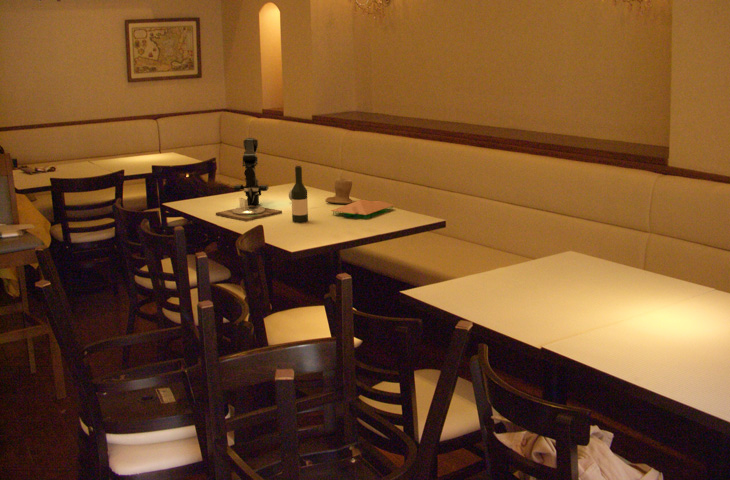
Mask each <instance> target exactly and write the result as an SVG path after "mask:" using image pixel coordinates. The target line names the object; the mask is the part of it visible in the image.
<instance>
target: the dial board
mask: <svg viewBox="0 0 730 480" xmlns="http://www.w3.org/2000/svg"><path fill="white" fill-rule="evenodd" d="M250 206H252V205H250ZM250 206H248V207H250ZM255 207H259V206H255ZM264 208H265V212H263V213H259V214H252V215H239V214H234V213H233V212H232V210H233V209H234V208H232V209H227V210H223V211H217V212H215V216H217V217H222V218H226V219H227V218H228V219H233V220H236V221H237V220H238V221H242V222H249V221H255V220H259V219H264V218H268V217H273V216H277V215H281V214H283V211H282V210H279V209H273V208H269V207H264Z"/></svg>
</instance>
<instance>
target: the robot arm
mask: <svg viewBox="0 0 730 480" xmlns="http://www.w3.org/2000/svg"><path fill="white" fill-rule="evenodd" d="M243 148H244V150H245V151H244V152H243V155H242V167H244V173H243V174H244V180H245V185H244V184H236V185H234V186H233V191H234V192H239V191H241V190H244V191H243V192H244V193H245V197H247V198H246V200H247V201H248V206H250V205H252V206H258V207H260V206H261V205H262V204H261V203H260V196H262V192H266V191H268V190H269V184H260V185H259V179H257V175H256V167H257V165H258V164H259V163H258V155H256V154H257V152H258V148H259V140H258V139H256V138H254V137H247V138H245V139H244V140H243Z"/></svg>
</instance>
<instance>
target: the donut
mask: <svg viewBox="0 0 730 480" xmlns="http://www.w3.org/2000/svg"><path fill="white" fill-rule="evenodd" d="M292 189H293V187H291V188H290V189H289V191H288V198H289V200H290V202H292V196H291V191H292Z"/></svg>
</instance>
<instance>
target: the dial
mask: <svg viewBox="0 0 730 480" xmlns="http://www.w3.org/2000/svg"><path fill="white" fill-rule="evenodd" d="M265 208H266V207H262V206H258V207H255V206H250V207H248V201H247V198H243V197H239V207H236V208H232V209H233V210H232V212H233V213H234V214H239V215H252V214H259V213H263V212H265Z"/></svg>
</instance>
